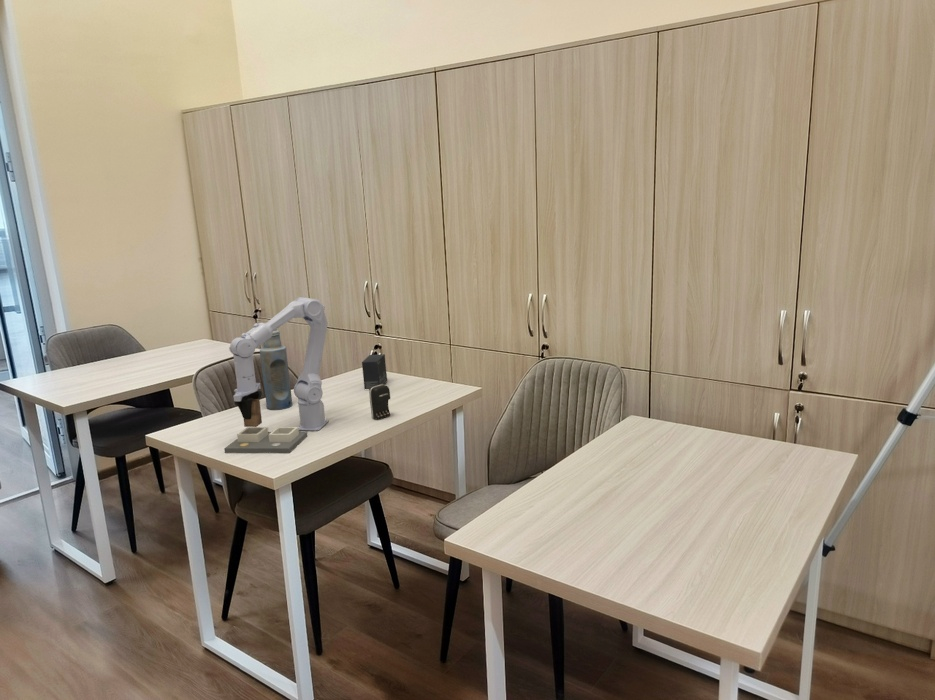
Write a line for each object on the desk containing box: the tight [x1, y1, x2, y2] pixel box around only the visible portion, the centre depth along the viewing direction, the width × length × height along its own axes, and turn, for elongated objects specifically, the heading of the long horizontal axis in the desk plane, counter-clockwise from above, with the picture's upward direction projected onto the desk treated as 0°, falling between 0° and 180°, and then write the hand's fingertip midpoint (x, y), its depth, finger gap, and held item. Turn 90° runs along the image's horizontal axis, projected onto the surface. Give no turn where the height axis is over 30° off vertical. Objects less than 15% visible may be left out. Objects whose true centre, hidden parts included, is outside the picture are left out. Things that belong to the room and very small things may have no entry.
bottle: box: [259, 328, 293, 411], centre depth 248 cm, size 10×10×30 cm
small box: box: [361, 353, 388, 390], centre depth 272 cm, size 13×7×12 cm, turn 174°
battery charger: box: [368, 384, 391, 420], centre depth 230 cm, size 7×4×11 cm, turn 135°
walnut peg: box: [243, 398, 263, 428], centre depth 210 cm, size 4×4×8 cm
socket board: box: [223, 426, 309, 454], centre depth 209 cm, size 15×21×4 cm
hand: (250, 416), depth 210 cm, fingers closed on walnut peg, 4 cm apart
